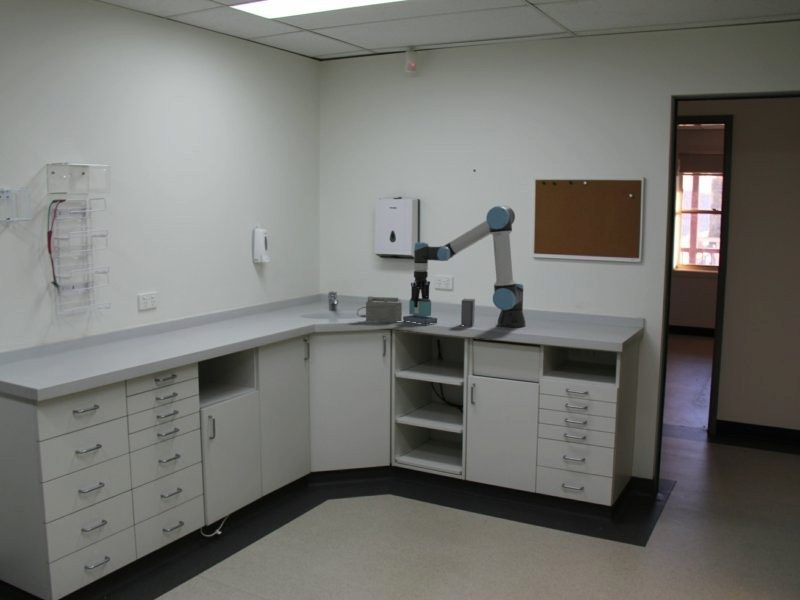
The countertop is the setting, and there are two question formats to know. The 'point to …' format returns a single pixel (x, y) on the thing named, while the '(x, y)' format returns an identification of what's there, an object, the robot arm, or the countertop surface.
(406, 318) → the tray
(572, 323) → the countertop surface
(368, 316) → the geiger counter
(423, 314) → the teal-edged grey panel
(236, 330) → the countertop surface
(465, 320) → the grey upright block
